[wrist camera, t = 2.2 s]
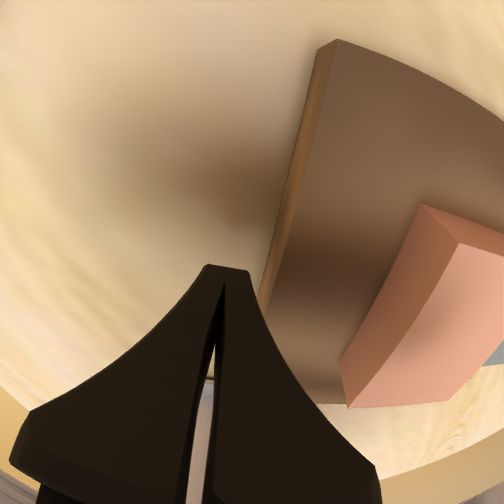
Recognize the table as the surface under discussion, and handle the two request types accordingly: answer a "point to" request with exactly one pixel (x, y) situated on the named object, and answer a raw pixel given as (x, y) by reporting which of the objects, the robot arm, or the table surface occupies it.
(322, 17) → the table surface
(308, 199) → the step
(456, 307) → the tile
